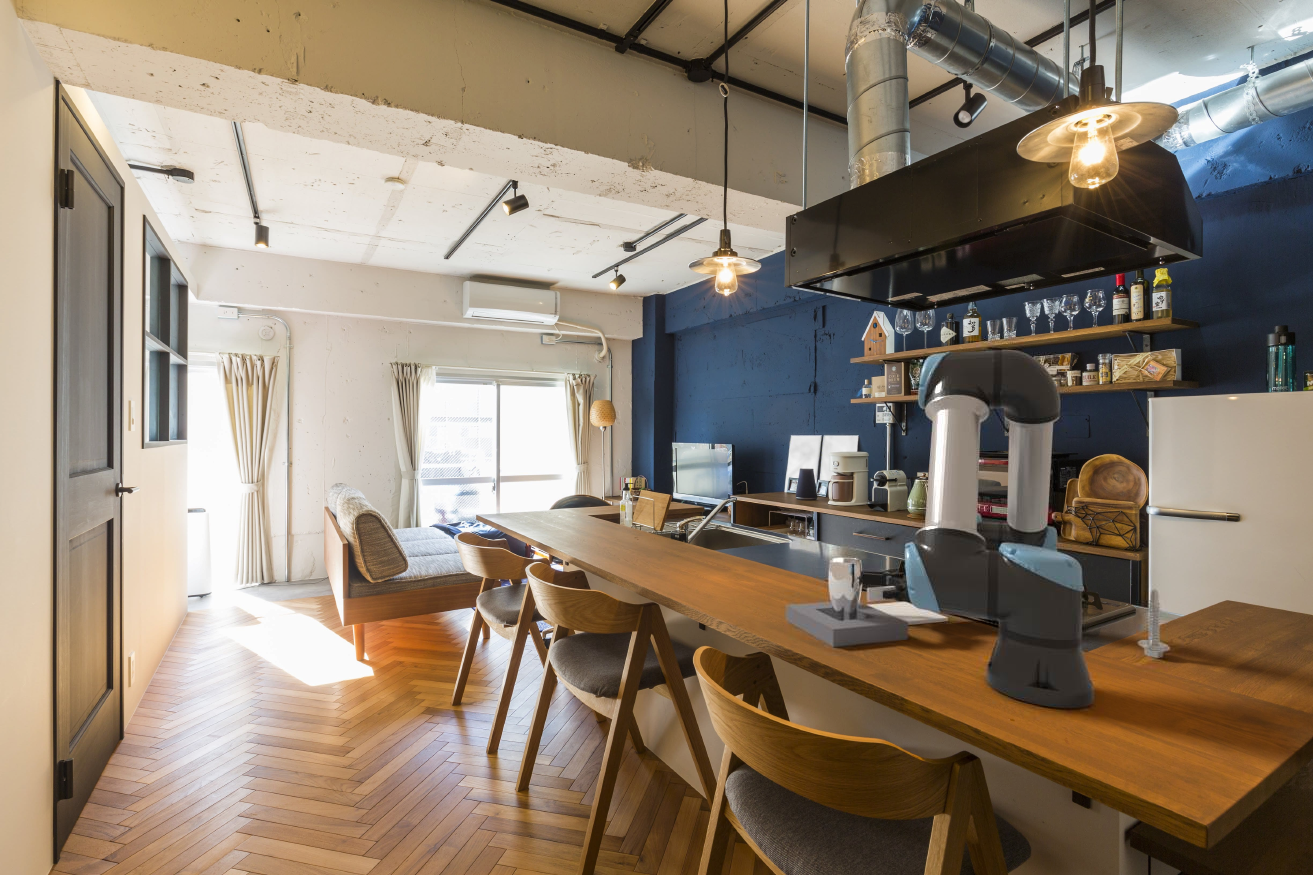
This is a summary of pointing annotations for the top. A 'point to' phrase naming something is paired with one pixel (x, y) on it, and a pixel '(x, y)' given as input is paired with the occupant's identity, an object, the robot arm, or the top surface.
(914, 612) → the stone tile
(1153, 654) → the screw
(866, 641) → the pocket holder
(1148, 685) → the top surface
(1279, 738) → the top surface
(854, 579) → the metal tumbler
